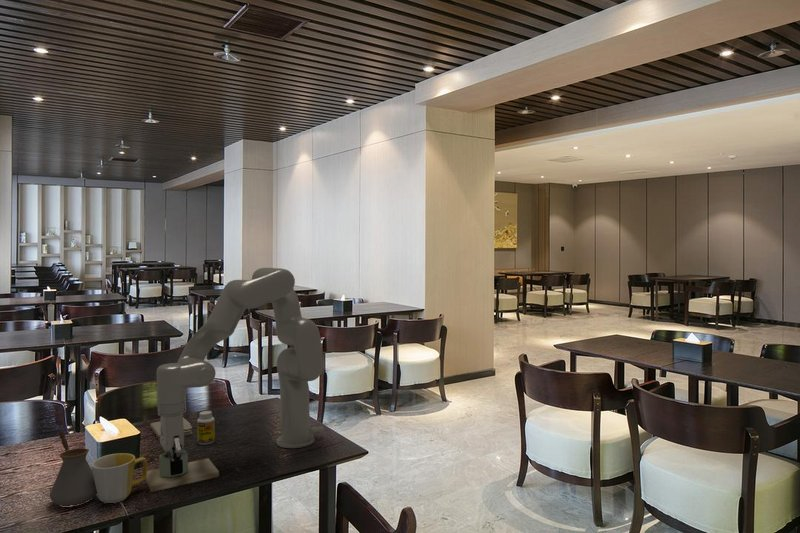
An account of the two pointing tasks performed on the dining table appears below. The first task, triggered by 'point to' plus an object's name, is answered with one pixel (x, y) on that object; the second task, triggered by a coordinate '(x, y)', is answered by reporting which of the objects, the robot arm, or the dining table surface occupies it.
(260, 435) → the dining table surface
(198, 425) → the supplement bottle
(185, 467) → the collar
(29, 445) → the dining table surface
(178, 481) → the post board
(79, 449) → the coffee pot
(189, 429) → the washcloth
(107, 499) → the mug
